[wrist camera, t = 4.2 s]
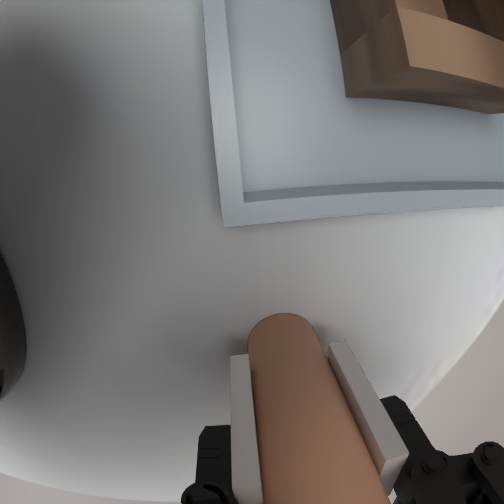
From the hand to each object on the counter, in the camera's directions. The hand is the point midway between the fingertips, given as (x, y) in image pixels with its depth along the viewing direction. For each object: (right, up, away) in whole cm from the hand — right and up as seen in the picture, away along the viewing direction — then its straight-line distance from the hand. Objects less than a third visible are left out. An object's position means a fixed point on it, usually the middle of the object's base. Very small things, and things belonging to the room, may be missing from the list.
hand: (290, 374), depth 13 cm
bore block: (+6, +17, -2) cm, 18 cm away
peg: (0, +1, +3) cm, 3 cm away
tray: (+5, +16, -2) cm, 17 cm away
